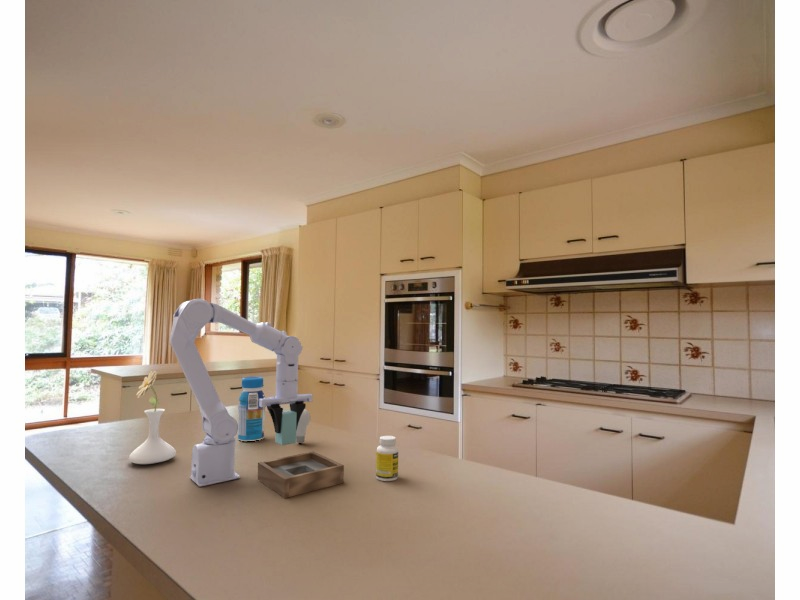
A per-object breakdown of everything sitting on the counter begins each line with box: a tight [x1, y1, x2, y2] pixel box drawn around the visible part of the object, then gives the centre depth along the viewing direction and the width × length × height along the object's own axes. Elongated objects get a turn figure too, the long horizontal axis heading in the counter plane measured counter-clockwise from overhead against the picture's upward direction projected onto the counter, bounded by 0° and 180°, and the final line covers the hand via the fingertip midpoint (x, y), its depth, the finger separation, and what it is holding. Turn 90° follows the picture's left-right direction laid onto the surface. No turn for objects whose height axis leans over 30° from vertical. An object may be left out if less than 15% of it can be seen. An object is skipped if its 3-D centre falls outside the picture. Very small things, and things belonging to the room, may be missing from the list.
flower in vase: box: [128, 370, 177, 465], centre depth 120 cm, size 13×11×25 cm
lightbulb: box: [296, 408, 311, 444], centre depth 138 cm, size 6×6×11 cm
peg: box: [274, 409, 297, 446], centre depth 117 cm, size 4×4×8 cm
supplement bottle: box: [375, 435, 399, 482], centre depth 107 cm, size 5×5×10 cm
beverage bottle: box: [237, 376, 266, 441], centre depth 144 cm, size 8×8×20 cm
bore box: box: [257, 451, 345, 499], centre depth 105 cm, size 15×15×4 cm
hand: (285, 431), depth 117 cm, fingers closed on peg, 4 cm apart
